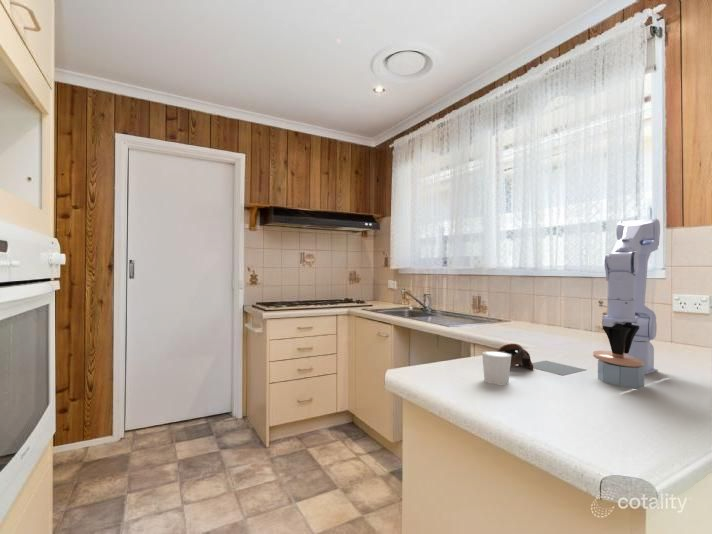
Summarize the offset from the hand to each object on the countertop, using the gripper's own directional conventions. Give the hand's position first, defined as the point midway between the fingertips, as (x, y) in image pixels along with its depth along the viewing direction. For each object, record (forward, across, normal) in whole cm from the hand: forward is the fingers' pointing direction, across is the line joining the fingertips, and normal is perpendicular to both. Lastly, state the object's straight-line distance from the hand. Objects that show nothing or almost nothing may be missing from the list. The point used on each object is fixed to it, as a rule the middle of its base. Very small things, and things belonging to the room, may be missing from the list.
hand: (620, 353), depth 93 cm
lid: (+2, 0, -1) cm, 2 cm away
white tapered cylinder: (+8, +27, -16) cm, 32 cm away
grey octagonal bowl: (+7, 0, 0) cm, 7 cm away
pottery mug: (+8, +12, -22) cm, 26 cm away
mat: (+7, +2, -16) cm, 18 cm away
